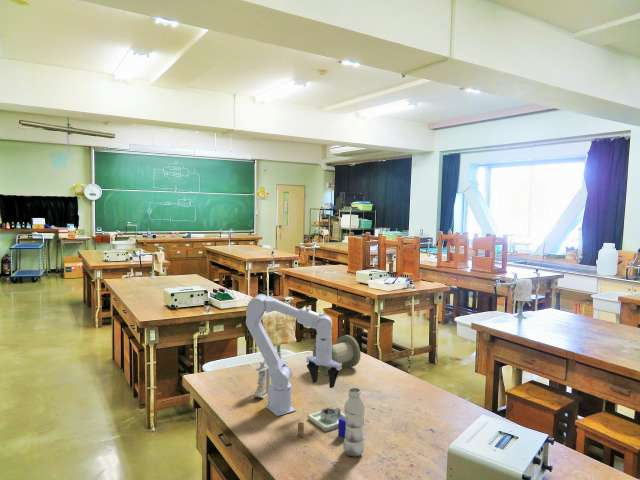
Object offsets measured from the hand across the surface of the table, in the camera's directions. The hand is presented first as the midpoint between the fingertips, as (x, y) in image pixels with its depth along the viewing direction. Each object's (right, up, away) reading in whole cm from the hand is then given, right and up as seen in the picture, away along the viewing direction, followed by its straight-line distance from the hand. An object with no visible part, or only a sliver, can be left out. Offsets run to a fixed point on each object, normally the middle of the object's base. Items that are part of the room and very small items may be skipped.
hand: (323, 384), depth 163 cm
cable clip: (+10, -12, -13) cm, 20 cm away
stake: (-8, -12, -17) cm, 22 cm away
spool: (+6, -8, +44) cm, 45 cm away
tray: (+2, -11, -6) cm, 13 cm away
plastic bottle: (+9, -13, -27) cm, 31 cm away
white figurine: (-25, -9, +14) cm, 30 cm away
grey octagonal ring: (+2, -10, -6) cm, 12 cm away
